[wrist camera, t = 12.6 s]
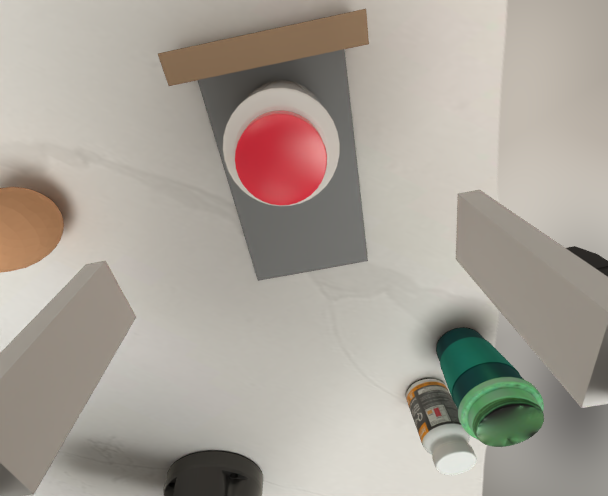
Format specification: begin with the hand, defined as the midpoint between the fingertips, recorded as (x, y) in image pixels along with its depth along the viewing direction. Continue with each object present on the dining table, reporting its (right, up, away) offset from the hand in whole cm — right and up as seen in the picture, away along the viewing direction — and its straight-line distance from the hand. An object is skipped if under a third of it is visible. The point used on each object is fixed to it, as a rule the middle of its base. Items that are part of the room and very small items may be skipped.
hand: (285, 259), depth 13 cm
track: (0, +7, +20) cm, 21 cm away
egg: (-24, +4, +20) cm, 32 cm away
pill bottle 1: (-1, +11, +17) cm, 20 cm away
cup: (+20, -11, +31) cm, 38 cm away
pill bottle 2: (+18, -19, +35) cm, 44 cm away
